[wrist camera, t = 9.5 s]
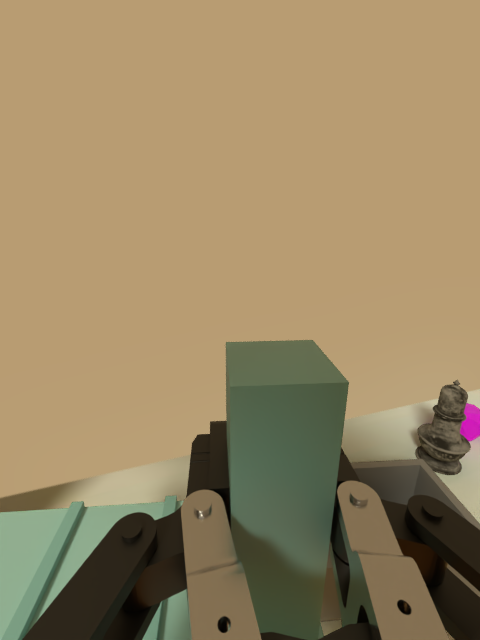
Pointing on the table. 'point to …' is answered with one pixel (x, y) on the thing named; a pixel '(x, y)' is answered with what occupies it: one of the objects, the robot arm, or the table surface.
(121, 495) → the table surface
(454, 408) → the grey chess bishop
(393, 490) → the tub
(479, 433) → the magenta icosahedron
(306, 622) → the lid
